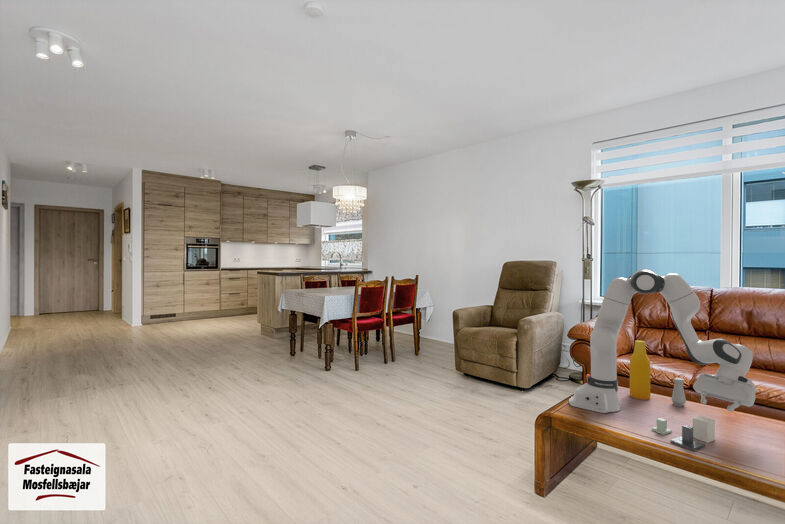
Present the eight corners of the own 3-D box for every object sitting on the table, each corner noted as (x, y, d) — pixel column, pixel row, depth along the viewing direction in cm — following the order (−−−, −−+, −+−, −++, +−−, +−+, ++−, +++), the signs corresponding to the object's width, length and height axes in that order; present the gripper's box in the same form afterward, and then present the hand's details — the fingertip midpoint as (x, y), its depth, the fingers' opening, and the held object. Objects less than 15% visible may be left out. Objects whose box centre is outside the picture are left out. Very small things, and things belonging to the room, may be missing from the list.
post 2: (693, 451, 150) (693, 432, 150) (670, 442, 157) (670, 424, 157) (705, 446, 153) (705, 428, 153) (682, 438, 160) (682, 420, 160)
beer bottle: (653, 397, 206) (654, 341, 205) (644, 401, 201) (645, 343, 200) (635, 392, 213) (635, 338, 213) (625, 395, 209) (626, 340, 208)
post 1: (664, 434, 163) (664, 422, 163) (651, 430, 168) (651, 418, 168) (671, 432, 166) (671, 420, 165) (659, 427, 170) (659, 416, 170)
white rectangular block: (707, 442, 156) (707, 422, 156) (692, 437, 161) (692, 417, 161) (714, 440, 159) (714, 420, 158) (700, 434, 163) (700, 415, 163)
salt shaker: (688, 407, 192) (688, 380, 192) (674, 406, 193) (675, 380, 193) (682, 403, 198) (682, 377, 198) (669, 402, 199) (669, 376, 199)
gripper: (697, 368, 176) (684, 394, 172) (756, 381, 157) (743, 410, 153) (703, 377, 178) (690, 402, 174) (761, 391, 159) (749, 419, 155)
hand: (715, 406), depth 163 cm, fingers open, 8 cm apart
